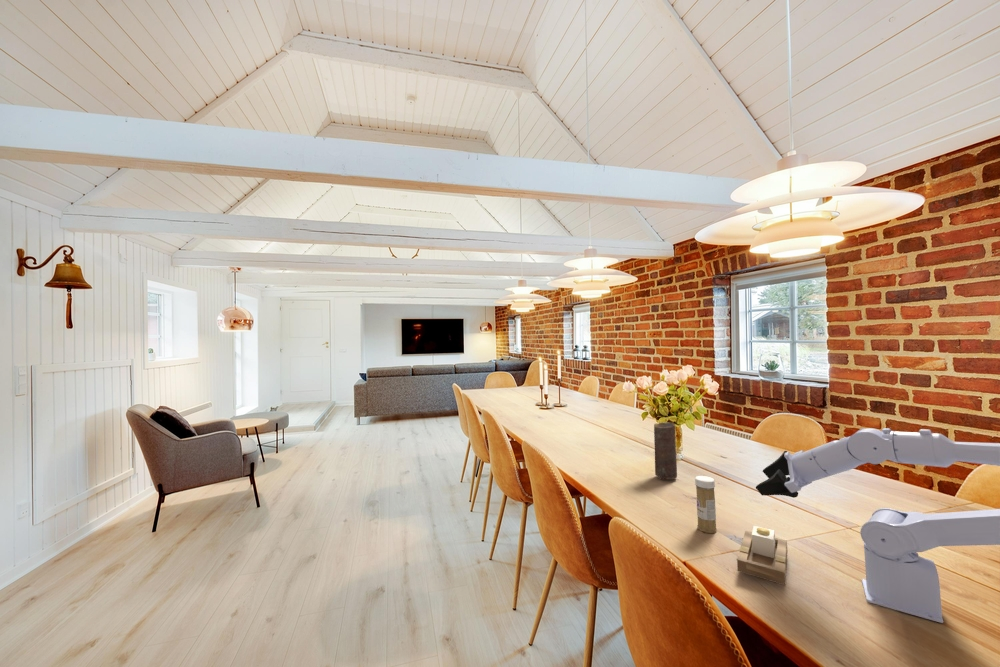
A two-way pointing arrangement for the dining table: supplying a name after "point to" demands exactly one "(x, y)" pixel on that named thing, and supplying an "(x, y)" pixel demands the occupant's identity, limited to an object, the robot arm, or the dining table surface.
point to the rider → (763, 541)
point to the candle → (665, 450)
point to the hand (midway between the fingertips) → (762, 482)
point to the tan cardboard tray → (763, 560)
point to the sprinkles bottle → (706, 504)
